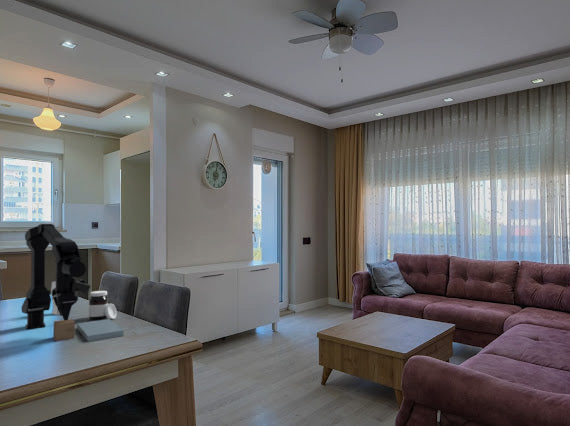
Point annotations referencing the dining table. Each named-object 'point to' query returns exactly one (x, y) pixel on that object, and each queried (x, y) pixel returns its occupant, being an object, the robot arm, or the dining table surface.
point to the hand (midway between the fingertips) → (64, 317)
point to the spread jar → (101, 306)
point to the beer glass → (55, 309)
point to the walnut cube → (64, 329)
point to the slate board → (99, 330)
